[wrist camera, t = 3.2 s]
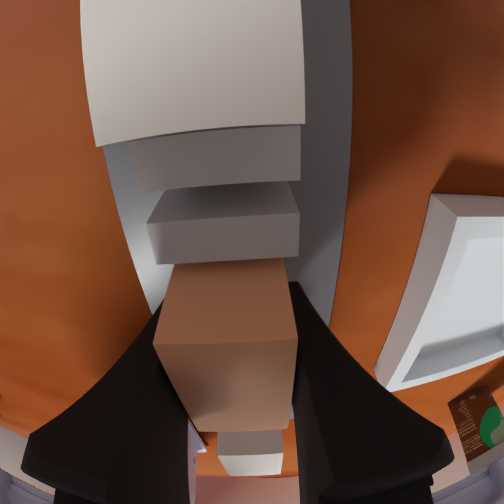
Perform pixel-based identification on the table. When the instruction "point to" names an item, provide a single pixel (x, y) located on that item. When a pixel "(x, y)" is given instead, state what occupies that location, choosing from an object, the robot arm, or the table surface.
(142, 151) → the rail
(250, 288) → the block
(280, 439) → the block
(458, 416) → the food container
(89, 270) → the table surface
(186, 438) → the robot arm
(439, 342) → the tray
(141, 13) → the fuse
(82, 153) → the table surface
